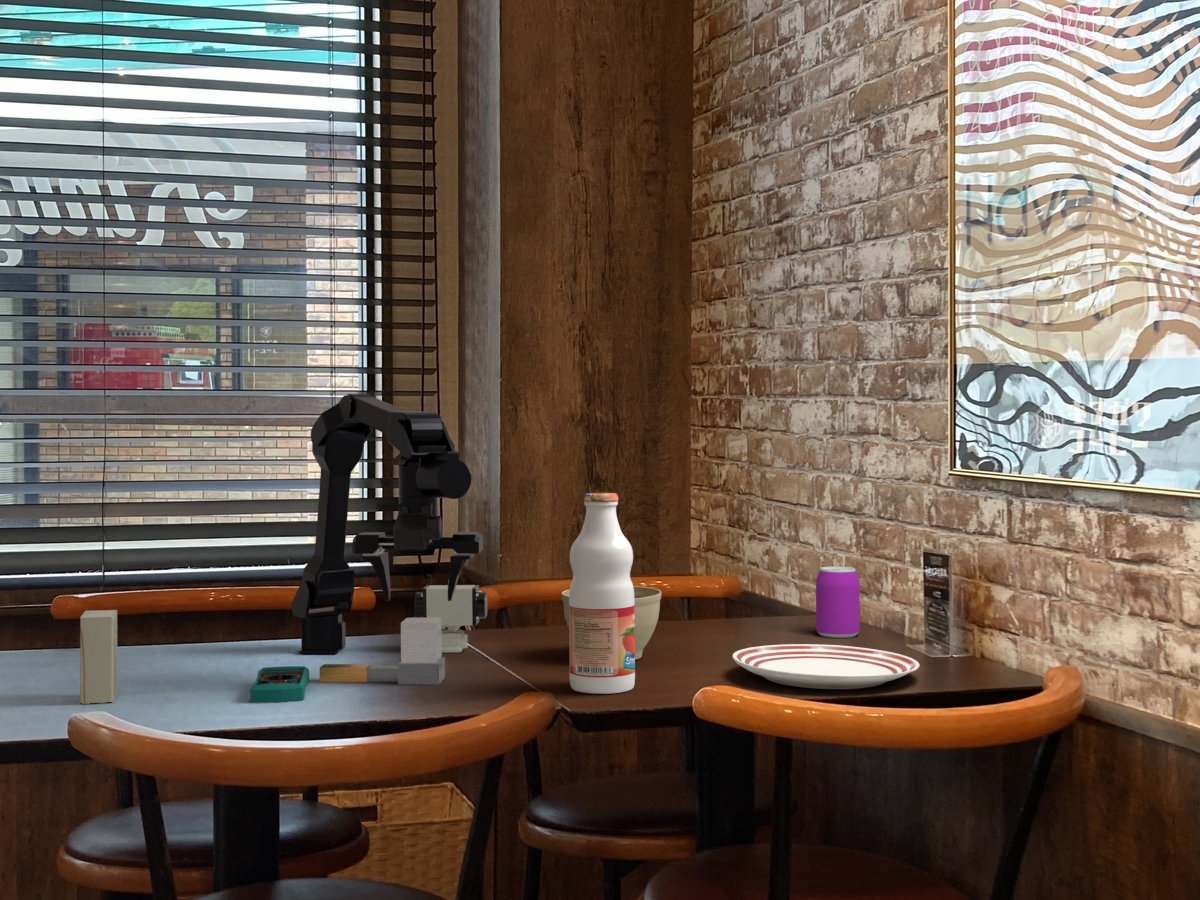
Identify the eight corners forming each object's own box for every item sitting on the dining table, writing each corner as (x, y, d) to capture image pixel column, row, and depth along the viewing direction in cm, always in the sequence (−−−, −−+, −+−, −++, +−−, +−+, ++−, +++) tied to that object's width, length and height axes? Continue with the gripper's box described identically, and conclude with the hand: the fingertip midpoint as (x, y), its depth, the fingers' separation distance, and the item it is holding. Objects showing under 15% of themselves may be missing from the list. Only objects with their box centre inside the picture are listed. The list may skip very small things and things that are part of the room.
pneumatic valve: (485, 653, 214) (484, 581, 214) (414, 654, 214) (413, 582, 214) (488, 648, 219) (487, 577, 219) (420, 648, 220) (419, 578, 219)
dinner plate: (853, 657, 210) (853, 636, 210) (958, 688, 184) (958, 665, 184) (701, 669, 200) (701, 648, 200) (789, 704, 174) (789, 680, 174)
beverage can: (810, 632, 233) (809, 566, 233) (850, 631, 234) (850, 565, 234) (825, 639, 225) (824, 571, 225) (866, 638, 227) (866, 570, 227)
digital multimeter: (249, 706, 176) (249, 685, 176) (258, 685, 191) (258, 665, 191) (304, 705, 178) (303, 683, 178) (309, 683, 192) (309, 664, 192)
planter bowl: (547, 654, 213) (547, 588, 213) (636, 647, 220) (635, 583, 219) (585, 670, 198) (584, 600, 198) (678, 662, 205) (678, 594, 205)
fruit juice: (562, 684, 188) (561, 492, 188) (624, 680, 191) (622, 491, 190) (579, 697, 179) (577, 495, 179) (643, 692, 182) (642, 494, 181)
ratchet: (316, 684, 189) (316, 647, 189) (326, 676, 195) (326, 640, 195) (439, 684, 189) (438, 647, 188) (445, 676, 195) (444, 640, 194)
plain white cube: (401, 663, 189) (400, 622, 189) (407, 657, 194) (407, 617, 194) (436, 663, 189) (436, 622, 189) (441, 657, 194) (441, 617, 194)
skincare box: (85, 696, 182) (84, 610, 182) (119, 694, 183) (117, 609, 183) (79, 705, 176) (78, 616, 176) (114, 703, 177) (113, 615, 177)
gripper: (343, 499, 184) (344, 608, 184) (473, 499, 183) (474, 608, 184) (360, 495, 195) (361, 598, 195) (483, 494, 194) (483, 598, 195)
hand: (418, 600), depth 192 cm, fingers open, 9 cm apart
